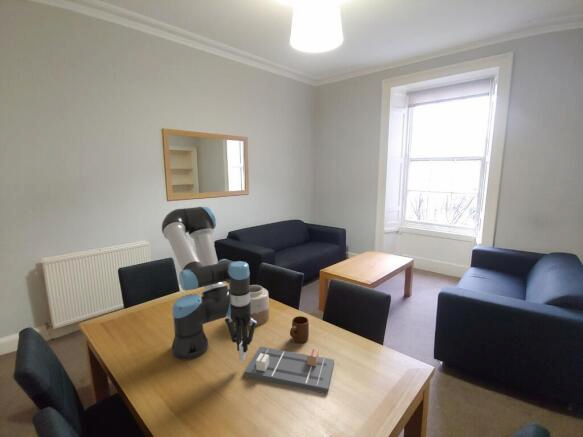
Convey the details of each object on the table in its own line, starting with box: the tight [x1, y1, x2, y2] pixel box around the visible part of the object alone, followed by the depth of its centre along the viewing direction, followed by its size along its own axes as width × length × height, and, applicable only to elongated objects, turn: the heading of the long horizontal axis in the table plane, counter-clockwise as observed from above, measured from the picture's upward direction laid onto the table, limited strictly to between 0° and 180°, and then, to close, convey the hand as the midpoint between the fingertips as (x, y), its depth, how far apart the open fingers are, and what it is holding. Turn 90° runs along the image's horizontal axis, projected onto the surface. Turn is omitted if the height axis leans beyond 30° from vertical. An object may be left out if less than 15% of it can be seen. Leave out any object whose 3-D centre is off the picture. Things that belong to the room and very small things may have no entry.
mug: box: [289, 315, 310, 344], centre depth 132 cm, size 12×8×9 cm, turn 148°
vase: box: [247, 284, 270, 327], centre depth 151 cm, size 15×15×17 cm
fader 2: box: [306, 348, 319, 366], centre depth 116 cm, size 4×4×4 cm
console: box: [243, 346, 335, 394], centre depth 115 cm, size 32×16×2 cm, turn 74°
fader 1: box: [256, 353, 269, 371], centre depth 113 cm, size 4×4×4 cm
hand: (242, 358), depth 115 cm, fingers closed
